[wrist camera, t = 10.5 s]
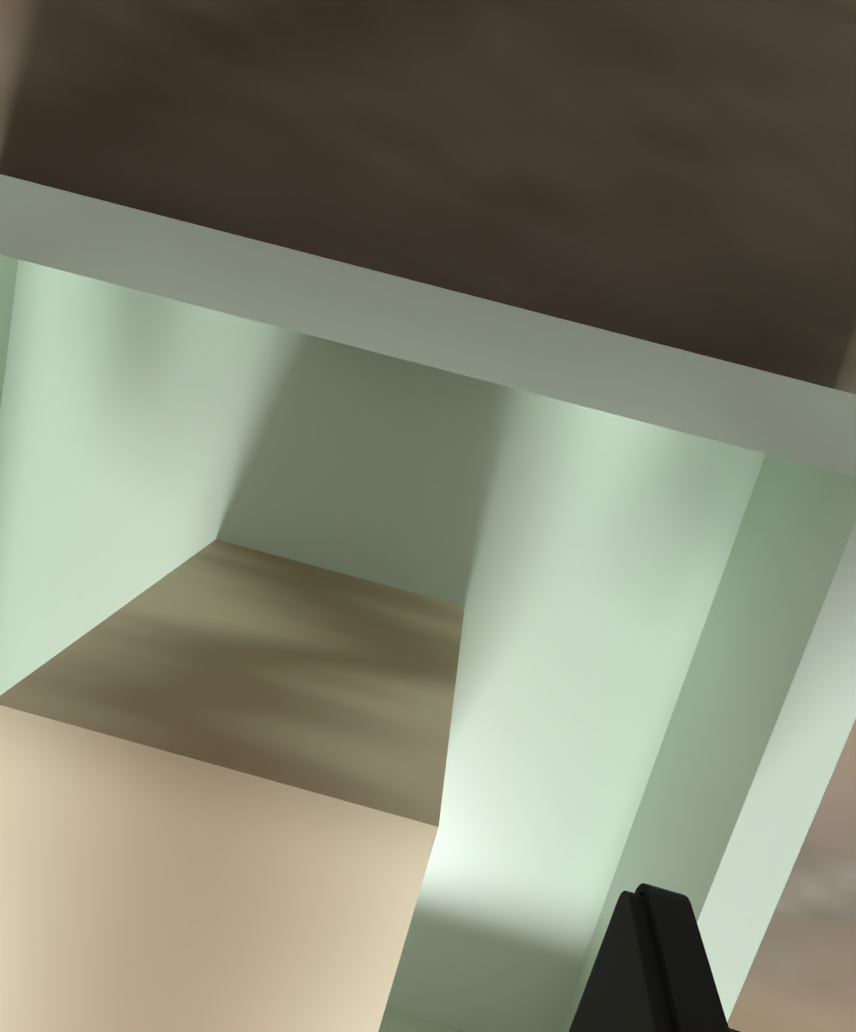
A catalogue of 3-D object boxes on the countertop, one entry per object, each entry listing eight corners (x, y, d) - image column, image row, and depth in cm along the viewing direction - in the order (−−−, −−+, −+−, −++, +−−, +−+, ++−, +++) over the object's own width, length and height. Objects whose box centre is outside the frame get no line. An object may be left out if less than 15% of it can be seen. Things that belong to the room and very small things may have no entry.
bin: (832, 398, 14) (979, 426, 10) (578, 1077, 18) (603, 1313, 14) (-7, 182, 15) (-218, 117, 10) (-83, 890, 18) (-263, 1062, 14)
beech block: (464, 606, 15) (438, 826, 8) (402, 826, 16) (336, 1175, 10) (215, 539, 15) (-9, 702, 8) (172, 762, 16) (-56, 1062, 10)
